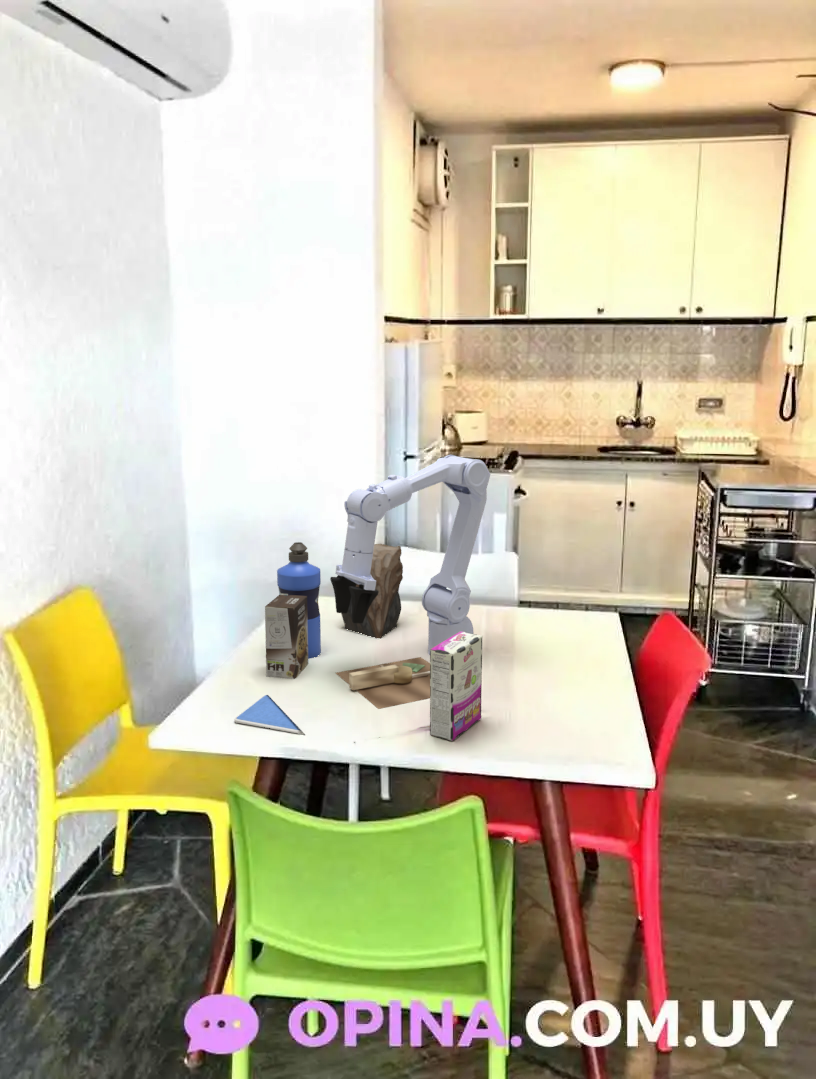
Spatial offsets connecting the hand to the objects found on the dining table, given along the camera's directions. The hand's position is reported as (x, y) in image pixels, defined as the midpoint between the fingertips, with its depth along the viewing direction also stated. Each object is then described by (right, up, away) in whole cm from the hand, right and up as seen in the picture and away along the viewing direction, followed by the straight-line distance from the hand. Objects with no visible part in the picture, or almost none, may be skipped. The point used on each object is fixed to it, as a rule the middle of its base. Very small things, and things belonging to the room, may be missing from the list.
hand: (349, 617), depth 175 cm
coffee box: (-13, -13, +7) cm, 20 cm away
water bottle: (-12, -10, +20) cm, 25 cm away
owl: (+3, -6, +36) cm, 36 cm away
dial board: (+10, -14, +2) cm, 17 cm away
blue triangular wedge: (-9, -18, -13) cm, 24 cm away
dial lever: (+9, -13, +1) cm, 16 cm away
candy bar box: (+20, -19, -16) cm, 32 cm away
